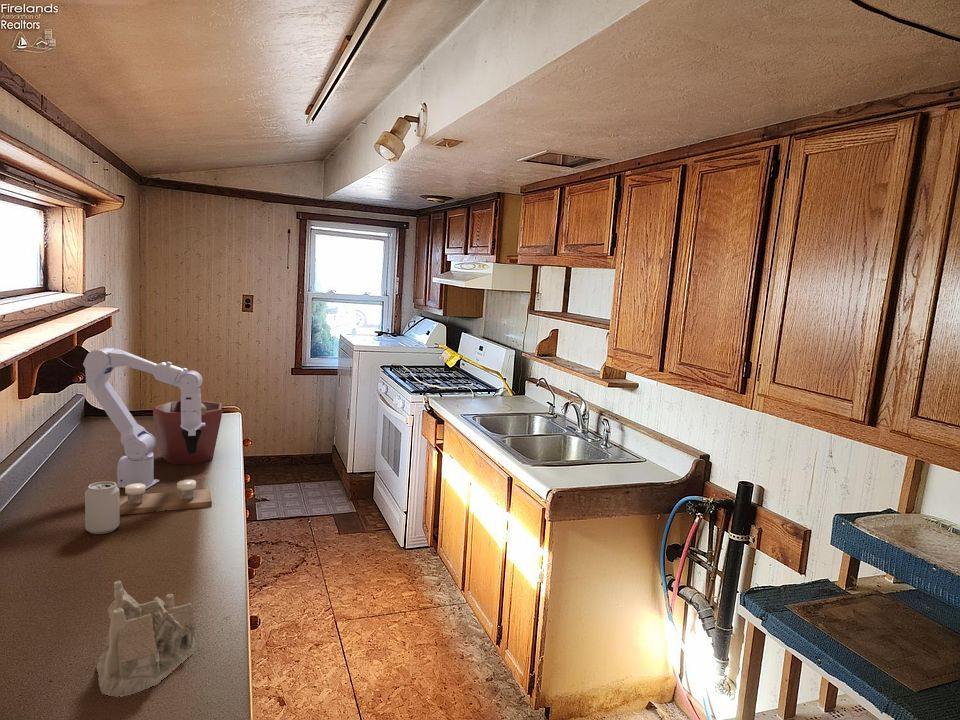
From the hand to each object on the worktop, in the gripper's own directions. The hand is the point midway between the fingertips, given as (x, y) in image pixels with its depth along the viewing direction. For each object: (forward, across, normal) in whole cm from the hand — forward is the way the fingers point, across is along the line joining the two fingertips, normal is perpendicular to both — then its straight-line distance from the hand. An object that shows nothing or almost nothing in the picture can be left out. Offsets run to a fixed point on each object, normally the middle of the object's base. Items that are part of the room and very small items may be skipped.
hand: (191, 452), depth 192 cm
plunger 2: (+9, -15, +2) cm, 17 cm away
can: (+10, -30, +22) cm, 38 cm away
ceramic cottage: (+11, -93, +9) cm, 94 cm away
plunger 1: (+8, -15, +15) cm, 23 cm away
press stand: (+10, -15, +8) cm, 20 cm away
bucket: (+10, +31, +1) cm, 32 cm away
